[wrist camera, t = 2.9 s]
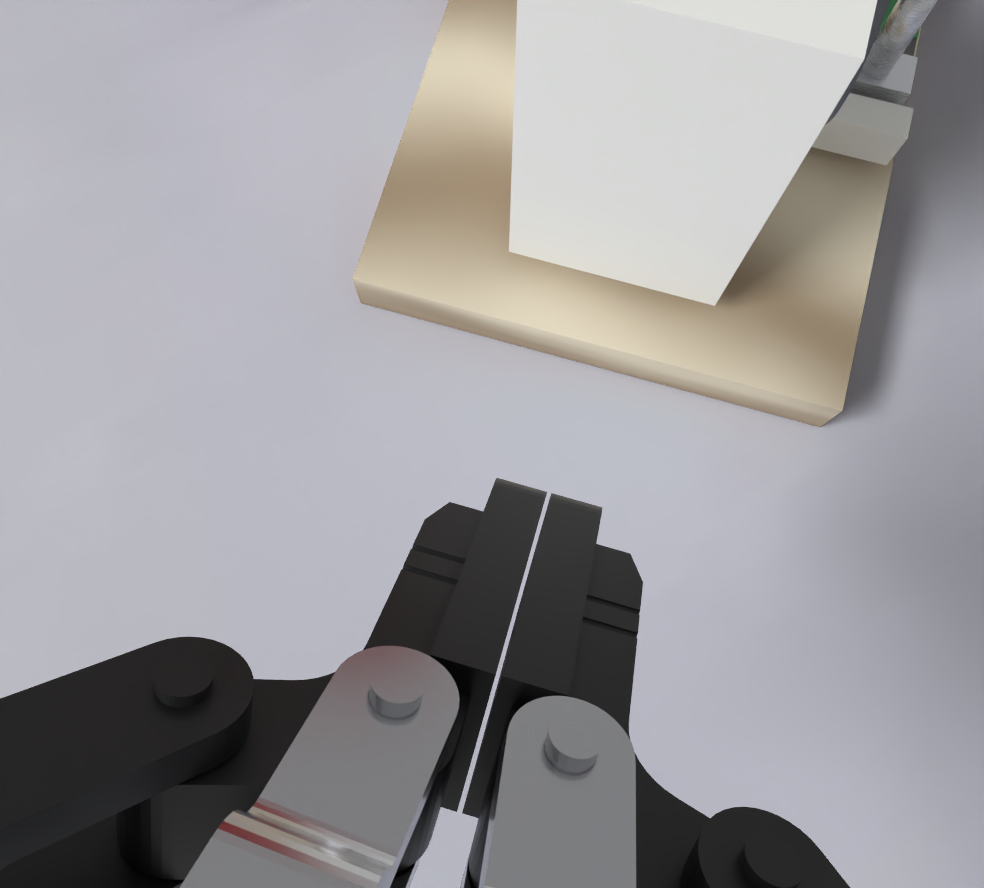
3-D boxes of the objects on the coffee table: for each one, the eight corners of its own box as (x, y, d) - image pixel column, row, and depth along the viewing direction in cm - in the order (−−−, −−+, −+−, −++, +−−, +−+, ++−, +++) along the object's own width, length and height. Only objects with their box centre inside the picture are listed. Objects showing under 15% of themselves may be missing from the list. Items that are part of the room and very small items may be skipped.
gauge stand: (820, 427, 23) (845, 408, 21) (361, 303, 24) (350, 275, 22) (935, -118, 27) (964, -170, 25) (536, -209, 28) (538, -265, 26)
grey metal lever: (885, 128, 23) (981, -5, 18) (813, 110, 23) (891, -26, 18) (892, 93, 23) (989, -46, 18) (821, 76, 23) (899, -67, 19)
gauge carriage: (850, 341, 21) (1095, 115, 13) (508, 251, 22) (517, -25, 13) (906, 68, 23) (1158, -298, 14) (588, -9, 24) (643, -407, 15)
